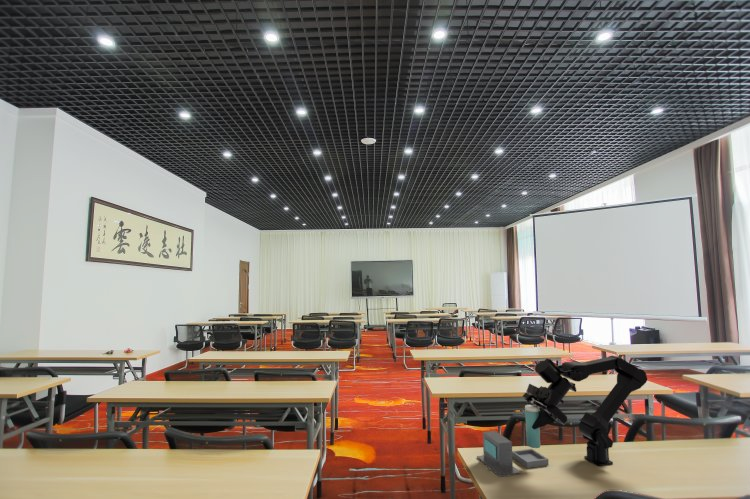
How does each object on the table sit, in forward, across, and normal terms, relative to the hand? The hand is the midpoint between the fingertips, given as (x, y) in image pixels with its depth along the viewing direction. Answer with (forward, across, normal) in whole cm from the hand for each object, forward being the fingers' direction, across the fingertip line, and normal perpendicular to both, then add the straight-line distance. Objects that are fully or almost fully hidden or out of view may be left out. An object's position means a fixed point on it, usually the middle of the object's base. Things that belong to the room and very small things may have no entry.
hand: (528, 425), depth 129 cm
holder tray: (+8, -4, +11) cm, 14 cm away
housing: (+17, -2, +2) cm, 18 cm away
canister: (+4, 0, +6) cm, 7 cm away
